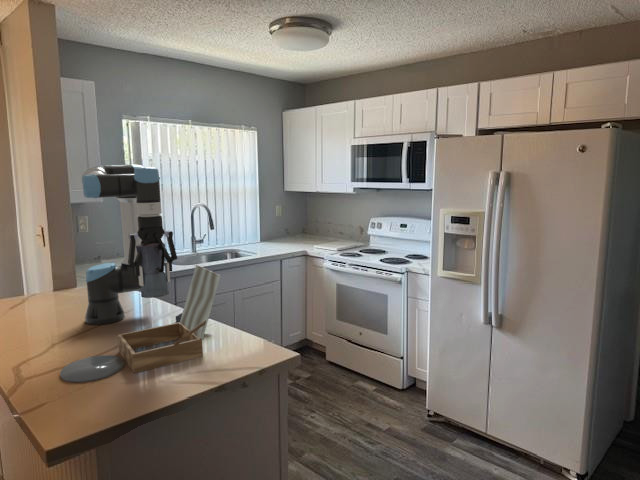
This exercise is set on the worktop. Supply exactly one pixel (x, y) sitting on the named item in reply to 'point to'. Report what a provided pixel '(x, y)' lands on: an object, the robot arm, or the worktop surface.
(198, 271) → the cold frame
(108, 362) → the disc
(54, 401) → the worktop surface
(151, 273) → the moka pot
